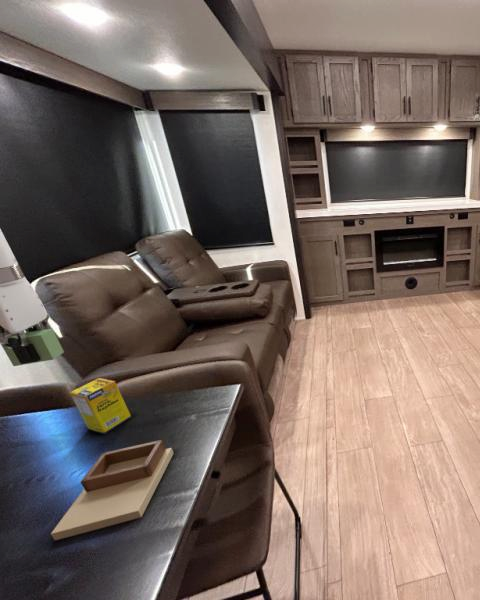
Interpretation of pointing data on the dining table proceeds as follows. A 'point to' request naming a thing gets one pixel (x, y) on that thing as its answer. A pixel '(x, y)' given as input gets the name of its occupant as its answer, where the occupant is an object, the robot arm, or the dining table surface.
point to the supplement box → (101, 405)
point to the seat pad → (116, 488)
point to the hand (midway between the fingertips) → (38, 356)
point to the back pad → (39, 346)
